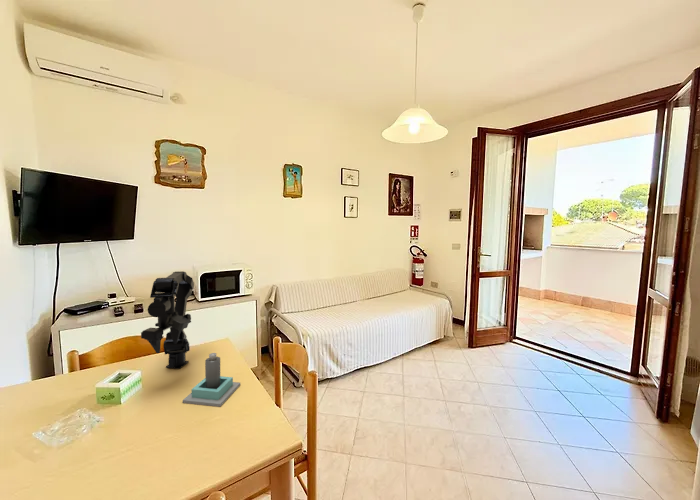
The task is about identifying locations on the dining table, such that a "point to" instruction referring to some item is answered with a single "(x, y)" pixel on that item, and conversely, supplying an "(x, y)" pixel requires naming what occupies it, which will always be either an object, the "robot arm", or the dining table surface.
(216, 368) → the plug
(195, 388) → the socket
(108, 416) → the dining table surface
